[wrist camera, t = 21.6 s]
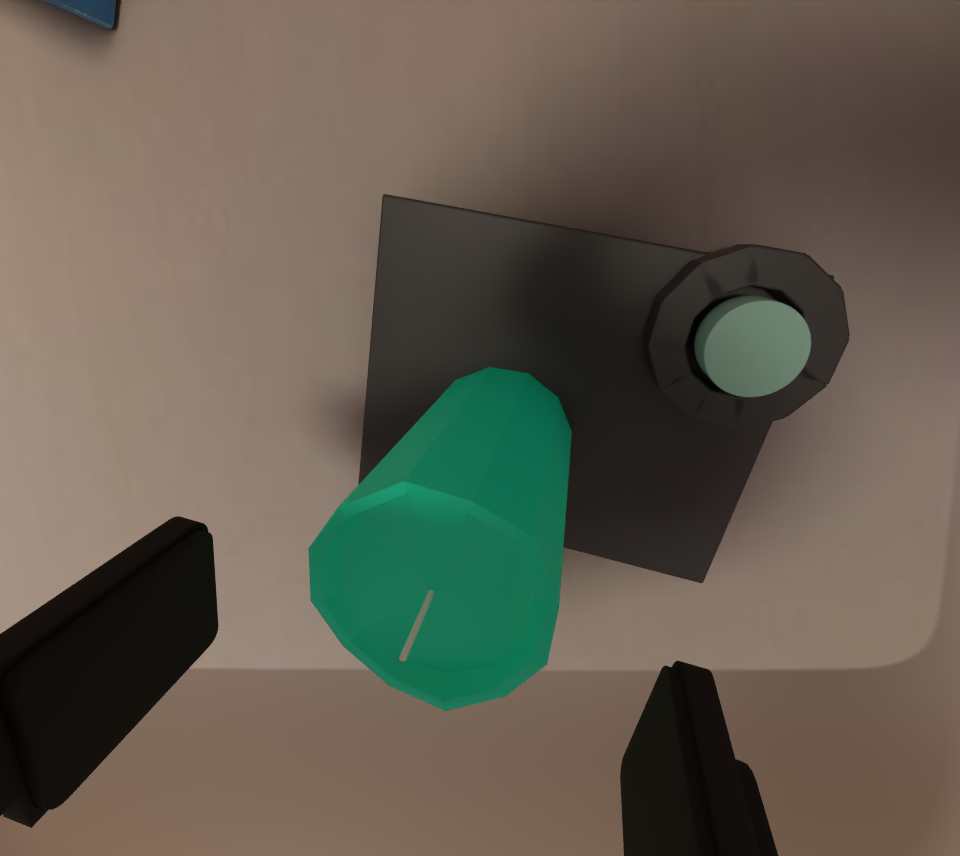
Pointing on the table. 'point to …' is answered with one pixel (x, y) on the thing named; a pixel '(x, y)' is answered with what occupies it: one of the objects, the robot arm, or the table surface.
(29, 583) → the table surface
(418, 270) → the scale
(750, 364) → the button
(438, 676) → the candle
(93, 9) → the ink box
